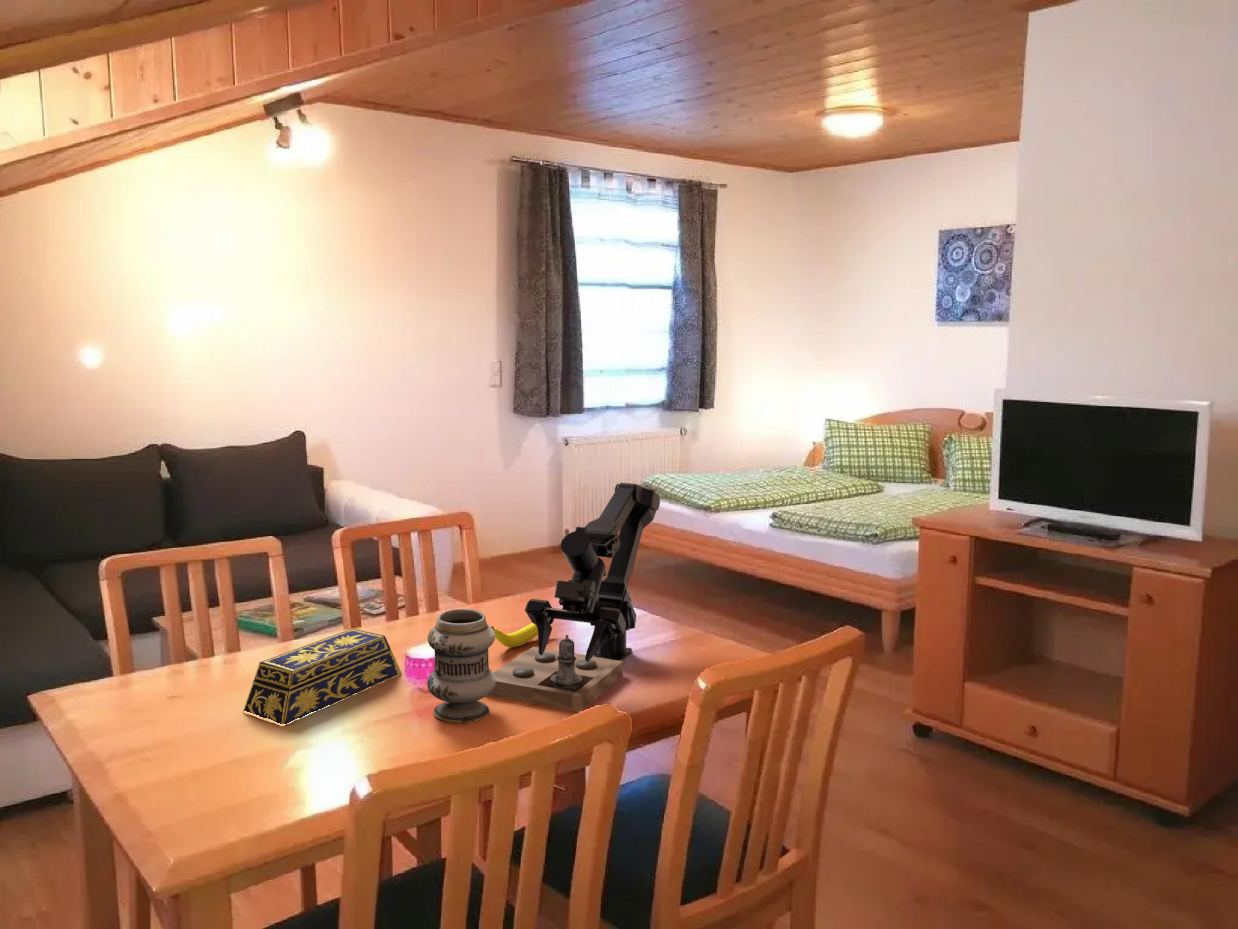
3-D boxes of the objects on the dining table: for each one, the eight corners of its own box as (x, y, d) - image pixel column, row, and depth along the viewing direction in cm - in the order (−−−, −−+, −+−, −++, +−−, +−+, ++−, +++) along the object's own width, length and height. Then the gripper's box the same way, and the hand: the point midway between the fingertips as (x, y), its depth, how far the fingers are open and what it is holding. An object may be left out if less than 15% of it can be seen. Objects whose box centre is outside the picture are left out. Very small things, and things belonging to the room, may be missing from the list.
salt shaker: (570, 704, 181) (571, 641, 180) (544, 698, 184) (544, 636, 182) (587, 694, 186) (588, 633, 185) (561, 688, 189) (562, 627, 187)
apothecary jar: (439, 731, 169) (438, 629, 166) (419, 706, 180) (417, 610, 177) (505, 719, 175) (505, 620, 172) (482, 695, 185) (482, 602, 182)
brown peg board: (533, 660, 204) (533, 644, 203) (622, 675, 196) (623, 658, 196) (483, 694, 186) (483, 675, 185) (579, 712, 178) (580, 693, 177)
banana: (555, 635, 221) (555, 607, 220) (496, 657, 205) (496, 628, 205) (545, 632, 222) (545, 604, 221) (486, 654, 207) (486, 625, 206)
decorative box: (402, 675, 195) (401, 631, 194) (282, 729, 170) (280, 679, 168) (362, 665, 201) (361, 622, 199) (239, 716, 175) (237, 667, 174)
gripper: (529, 557, 188) (503, 630, 179) (622, 567, 182) (600, 643, 173) (545, 587, 197) (521, 658, 188) (634, 597, 191) (614, 671, 182)
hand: (563, 657), depth 183 cm, fingers open, 9 cm apart
